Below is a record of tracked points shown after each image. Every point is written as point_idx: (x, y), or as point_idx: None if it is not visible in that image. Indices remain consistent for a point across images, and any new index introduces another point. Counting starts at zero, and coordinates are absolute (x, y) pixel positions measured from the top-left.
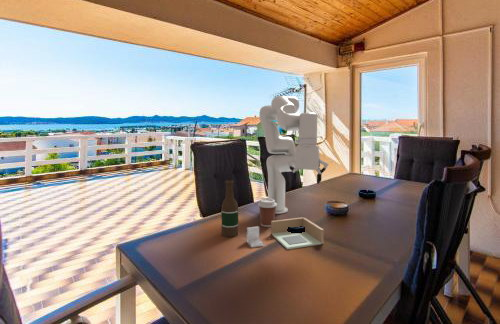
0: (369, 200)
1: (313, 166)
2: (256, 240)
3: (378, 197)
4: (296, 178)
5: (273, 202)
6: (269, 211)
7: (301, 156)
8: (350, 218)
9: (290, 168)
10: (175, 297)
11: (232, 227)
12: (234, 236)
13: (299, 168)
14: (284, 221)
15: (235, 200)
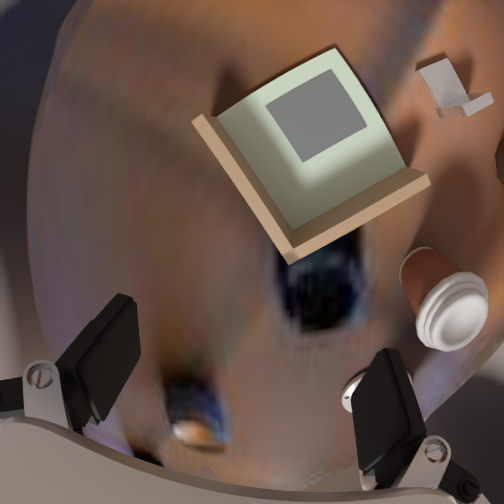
0: (137, 445)
1: (35, 476)
2: (443, 91)
3: (127, 452)
4: (382, 385)
5: (440, 310)
6: (442, 273)
7: None
8: (148, 359)
9: (470, 477)
10: None
11: None
12: (500, 144)
13: (386, 496)
14: (376, 200)
15: None
